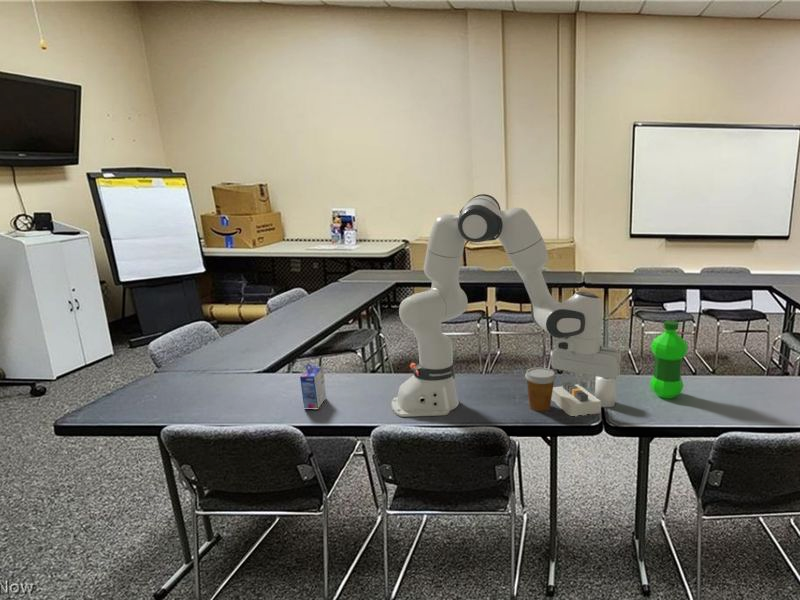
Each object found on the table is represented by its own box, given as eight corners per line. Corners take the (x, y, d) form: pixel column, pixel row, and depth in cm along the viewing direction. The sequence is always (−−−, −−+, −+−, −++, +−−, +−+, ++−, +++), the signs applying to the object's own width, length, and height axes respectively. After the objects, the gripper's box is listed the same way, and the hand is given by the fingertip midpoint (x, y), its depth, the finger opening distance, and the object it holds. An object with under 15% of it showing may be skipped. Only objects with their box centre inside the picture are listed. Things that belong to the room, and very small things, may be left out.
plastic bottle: (673, 388, 176) (678, 317, 170) (689, 401, 166) (695, 326, 160) (643, 389, 176) (647, 318, 171) (657, 402, 166) (662, 327, 160)
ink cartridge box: (311, 398, 183) (308, 359, 179) (326, 398, 182) (323, 359, 179) (302, 410, 173) (298, 369, 170) (318, 410, 172) (314, 370, 169)
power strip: (570, 417, 159) (571, 398, 158) (539, 389, 180) (539, 373, 179) (600, 413, 161) (601, 395, 159) (566, 386, 182) (566, 370, 181)
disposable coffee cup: (552, 401, 171) (552, 366, 168) (557, 413, 162) (558, 377, 159) (522, 401, 172) (523, 367, 169) (526, 413, 163) (527, 378, 160)
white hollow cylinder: (601, 408, 164) (602, 381, 162) (591, 400, 170) (592, 374, 168) (618, 406, 165) (619, 379, 163) (607, 398, 171) (609, 372, 169)
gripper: (624, 346, 155) (621, 389, 158) (557, 336, 166) (556, 377, 170) (618, 352, 150) (616, 396, 153) (549, 342, 162) (549, 383, 165)
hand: (584, 386), depth 161 cm, fingers closed
